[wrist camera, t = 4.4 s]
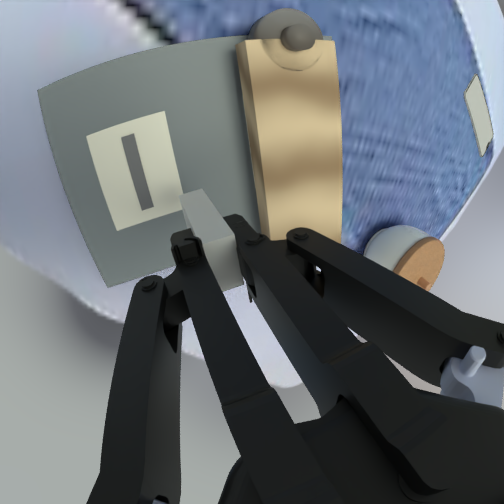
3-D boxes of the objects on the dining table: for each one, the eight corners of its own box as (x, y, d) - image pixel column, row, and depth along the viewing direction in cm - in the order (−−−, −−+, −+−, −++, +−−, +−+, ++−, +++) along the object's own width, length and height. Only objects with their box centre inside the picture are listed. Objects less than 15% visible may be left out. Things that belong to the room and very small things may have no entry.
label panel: (40, 84, 14) (31, 84, 12) (324, 32, 19) (338, 30, 18) (108, 281, 24) (107, 295, 22) (334, 209, 30) (346, 217, 28)
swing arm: (230, 15, 14) (246, 2, 12) (315, 16, 16) (340, 9, 14) (265, 264, 27) (280, 284, 24) (328, 242, 28) (347, 258, 26)
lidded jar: (356, 218, 32) (414, 259, 24) (411, 207, 35) (463, 239, 27) (343, 290, 37) (386, 335, 30) (395, 270, 40) (436, 305, 33)
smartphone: (476, 71, 27) (494, 135, 35) (473, 71, 27) (491, 134, 36) (463, 94, 28) (481, 159, 37) (460, 93, 29) (478, 158, 37)
